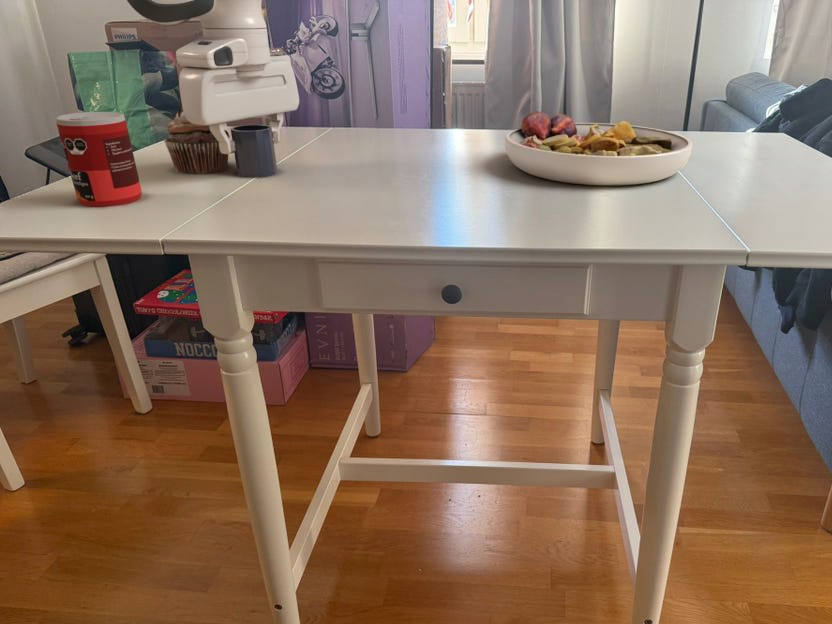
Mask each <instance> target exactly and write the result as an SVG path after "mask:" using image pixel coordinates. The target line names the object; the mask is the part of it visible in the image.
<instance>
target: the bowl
mask: <svg viewBox="0 0 832 624" xmlns="http://www.w3.org/2000/svg"><path fill="white" fill-rule="evenodd" d="M504 147H505V152H506V155H507V157H508V158H509V160H510V161H511V163H512V164H513V165H514V166H515V167H517V168H518V169H520V170H521V171H522V172H524V173H527V174H529V175H532V176H534V177H537V178H541V179H545V180H548V181H554V182H559V183H566V184H573V185H574V184H575V185H584V186H585V185H586V186H605V187H606V186H612V187H613V186H634V185H643V184H648V183H654V182H658V181H661V180H665V179H667V178H670V177H672V176H674V175H675V174H677V173H678V172H680V171H681V170H682V169H683V168H684V167H685V166H686V164H687V163H688V161H689V159H690V157H691V155H692V152H693V151H692V150H693V140H691V139H690V138H688V137H686V136H684V135H682V134H679V133H676V132H672V131H668V130H664V129H659V128H653V127H647V126H641V125H639V126H638V125H632V124H630V123H629V122H628V121H626V120H621V121H619V122H618V123H606V122H605V123H604V122H603V123H602V122H575V121H574V120H573V119H572V118H571V117H570V116H569V115H567V114H563V113H560V114H559V113H558V114H555V115H554V116H552V118H550V116H549V115H548V114H547V113H545V112H543V111H539V110H538V111H537V110H535V111H534V112H530V113H529V114H527V115H526V116H525V117H524V118H523V119H522V121H521V127H518V128H515V129H512V130H510V131H508V132H507V133H506V134H505V136H504Z"/></svg>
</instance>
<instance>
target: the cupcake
mask: <svg viewBox="0 0 832 624" xmlns="http://www.w3.org/2000/svg"><path fill="white" fill-rule="evenodd" d="M224 131H225V133H226V135H227V136H228V138H229V139H230V138H231V137H230V134H229V132H228V131H227V130H224ZM167 133H169V134H168V135H167V137H166V138H164V139H163V142H164V144H165V147H166V149H167V152H168V153H169V156H170V159H171V162H172V164H173V165H174V169H175V171H176V172H178V173H180V174H185V175H202V174H203V175H205V174H206V175H207V174H211V173H218V172H222V171H225V170H226V169H228V167H229V154H222V153H221V152H220V147H219V141H217V139H216V138H215V137H214V135H213V134H212V132H211V131H210V128H209V125H207V126H204V125H196V124H191V123H190V122H189V121H188V120H187V118H186V117H185V115H184V112H183V107H182V106H181V108H179V110H178V111H177V113H176V115H175V117H174V118H173V120H171V121H170V122H168V123H167Z"/></svg>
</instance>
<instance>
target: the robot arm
mask: <svg viewBox="0 0 832 624" xmlns="http://www.w3.org/2000/svg"><path fill="white" fill-rule="evenodd" d="M262 1H263V0H126V2H127V3H128V5H130V7H131V8H132V9H133V10H134V11H136V13H138V14H139V15H140V16H141V17H142V18H144V19H146V20H148V21H149V22H152V23H155V24H158V25H162V26H168V27H174V26H181V25H183V24H185V23H187V22H189V21H190V20H191V19H197V20H198V21H199V22H200V24H201V30H202V36H199V37H198V38H196V39H194V40H193V41H191V42H189V43H187V44H186V45H183V46H182V47H179V48H178V49H177V50H176V51H175V58H176V62H177V64H178V65H179V66H181V67H183V68H182V69H181V70H180V73H179V77H178V84H179V86H178V87H179V96H180V100H181V101H180V102H181V108H182V107H183V112H184V115H185V117H186V118H187V120H188V121H189V122H190V123H191V124H196V125H204V126H207V125H209V128H210V131H211V132H212V134H213V135H214V137H215V138H216V139H217V141H219V147H220V152H221V153H222V154H228V155H230V154H234V153H235V152H236V148H235V141H232V139H231V140H230V137H229V138H228V136H227V135H226V133H225V131H224V130H226V131H227V130H228V125H227V123H230V122H235V121H236V122H237V121H240V120H247V119H248V120H249V119H252V118H253V119H254V118H258V117H264V116H266V118H267V120H269V125H268V126H271V127H272V135H273V142H274V145H275V144H280V143H281V134H280V132H281V129H282V126H283V123H284V113H287V112H293V111H296V110H298V108H299V105H300V96H299V89H298V85H297V80H296V76H295V72H294V69H293V66H292V62H291V61H292V60H291V57H290V56H289V54H288V53H287V52H286V50H284V49H283V48H282V47H274V48H270V44H269V37H268V35H269V34H268V27H267V23H266V20H265V18H264V14H263V10H262Z"/></svg>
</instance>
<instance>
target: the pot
mask: <svg viewBox="0 0 832 624" xmlns="http://www.w3.org/2000/svg"><path fill="white" fill-rule="evenodd" d="M230 134H231V140H232V141H235V148H236V152H235V153H233V154H234V159H235V160H234V161H235V165H236V172H237V176H238V177H241V178H248V179H258V178H260V179H261V178H267V177H272V176H275V175H277V174H278V165H277V159H276V158H277V157H276V151H275V144H274V142H273V135H272V127H271V126H269V125H267V124H242V125H236V126H233V127H231V128H230Z"/></svg>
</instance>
